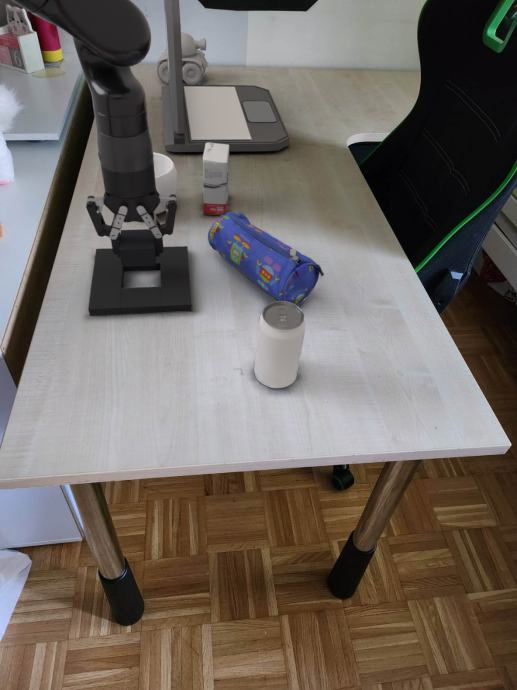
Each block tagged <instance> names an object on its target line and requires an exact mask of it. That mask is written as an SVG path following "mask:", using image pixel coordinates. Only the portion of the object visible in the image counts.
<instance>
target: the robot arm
mask: <svg viewBox="0 0 517 690" xmlns="http://www.w3.org/2000/svg"><path fill="white" fill-rule="evenodd" d="M11 1H12V2H13V3H15V4H16V5H17V6H19V7H21V8H23V9H24V10H26V11H27V12H29V13H31V14H32V15H33V16H35V17H37V18H39V19H41V20H43V21H45V22H48V23H50V24H52V25H54V26H56V27H57V28H59V29H61V30H62V31H64V32H66V33H67V34H68V35H70V36H71V38H72V40H73V45H74V48H75V51H76V54H77V57H78V61H79V63H80V66H81V69H82V72H83V76H84V78H85V81H86V83H87V85H88V88H89V91H90V94H91V100H92V108H93V109H92V110H93V115H94V120H95V121H94V122H95V127H96V140H97V143H96V144H97V151H98V152H97V155H98V159H99V162H100V163H99V164H100V169H101V175H102V180H103V186H104V193H103V196H98V197H95V196H94V195H88V196H87V198H86V205H85V208H86V211H87V213H88V215H89V218H90V220H91V222H92V225H93V227H94V230H95V232H96V234H97V236H98V237H100V238H103V237H108V238H109V239H110V244H111V248H112V250H113V253H114V254H115V255H118V258H120V252H119V245H120V236H121V235H120V232H121V230H122V227H123V224H124V223H132V222H137V223H145V225H146V227H147V229H150V230H151V231H152V233H153V235H154V245H155V255H156V256H160V253H163V247H164V236H165V235H168V236H171V235H173V233H174V228H175V222H176V216H177V210H178V199H177V198H178V197H177V194H176V195H174V194H171V195H170V196H169V197H166V196H160V195H159V193H158V192H157V190H156V183H155V171H154V160H153V152H154V149H153V148H154V147H153V141H152V136H151V132H150V126H149V115H148V114H149V113H148V105H147V96H146V91H145V88H144V86H143V84H142V83H141V82H140V81H139V80H138V78H137V77H136V76H135V75H134V73H133V70H132V69H131V67H134V66H136V65H138V64H140V63H141V62H142V61H144V60H145V58H146V57H147V55H148V54H149V52H150V49H151V46H152V31H151V27H150V24H149V21H148V19H147V17H146V16H145V13H143V11H142V10H141V8H140V7H139V6H138V5H137V4H135V2H133V1H131V0H11ZM159 204H161V205H162V206H163V209H164V210H165V211H164V212H166V213H165V214H166V215H165V221H164V223H161V222H160V221H159V219H158V216H157V215H156V214H155V212H154V211H155V209H156V208H157V207H158V205H159ZM103 206H105V207H106V208H107V209H108V210H109V211H110V212H111V213H112V214H113V218H112V221H111V224H106V221H105V219H104V216H103V213H102V212H103Z"/></svg>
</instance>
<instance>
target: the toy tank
mask: <svg viewBox="0 0 517 690" xmlns="http://www.w3.org/2000/svg"><path fill="white" fill-rule="evenodd" d="M181 48H182V73H183V85H201V83H202V82H203V79H204V77H205V76H204V75H205V72H206V70H207V68H208V67H209V62H208V61H207V59H206V57H205V56H206V54H205V53H204V52H203V51H207V40H206V38H205V37H204V38H203V39H200V40H196V39H195V38H194V37H193V36H192V35H191V34H189V33H187V32H185V31H181ZM156 67H157V68H156V73H157V76H158V79H159V80H160V81H161V82H162V83H163V84H165V85H169V80H168V79H169V77H168V60H167V48H165V49H164V50H163V51H162V52H161V54H160V55H159V58H158V60H157V63H156Z"/></svg>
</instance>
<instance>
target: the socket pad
mask: <svg viewBox="0 0 517 690" xmlns="http://www.w3.org/2000/svg"><path fill="white" fill-rule="evenodd" d="M93 261H94V262H93V269H92V277H91V286H90V293H89V300H88V307H87V309H88V310H87V311H88V314H89V316H90V317H92V316H113V315H114V316H116V315H137V314H138V315H139V314H140V315H141V314H159V313H160V314H161V313H162V314H163V313H181V312H182V313H183V312H185V313H186V312H193V303H192V290H191V276H190V263H189V249H188V246H187V245H183V246H182V245H180V246H176V245H175V246H163V253H160V256H156V266H133V267H122V264H121V258H118V255H115V254H114V253H113V250H112V247H111V248H110V247H109V248H108V247H107V248H96V249H95V254H94V260H93ZM132 271H133V272H135V271H160V286H141V287H140V286H139V287H124V278H125V272H132Z"/></svg>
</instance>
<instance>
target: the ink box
mask: <svg viewBox="0 0 517 690" xmlns="http://www.w3.org/2000/svg"><path fill="white" fill-rule="evenodd" d="M229 178H230V151H229V144H218V143H206V144H205V150H204V152H203V155H202V187H203V188H202V190H203V191H202V192H203V193H202V194H203V196H202V197H203V201H202V203H203V205H202V206H203V207H202V208H203V215H209V216H222V215H225V214H227V208H228V202H229V201H228V200H229V182H230V181H229V180H230V179H229Z"/></svg>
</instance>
